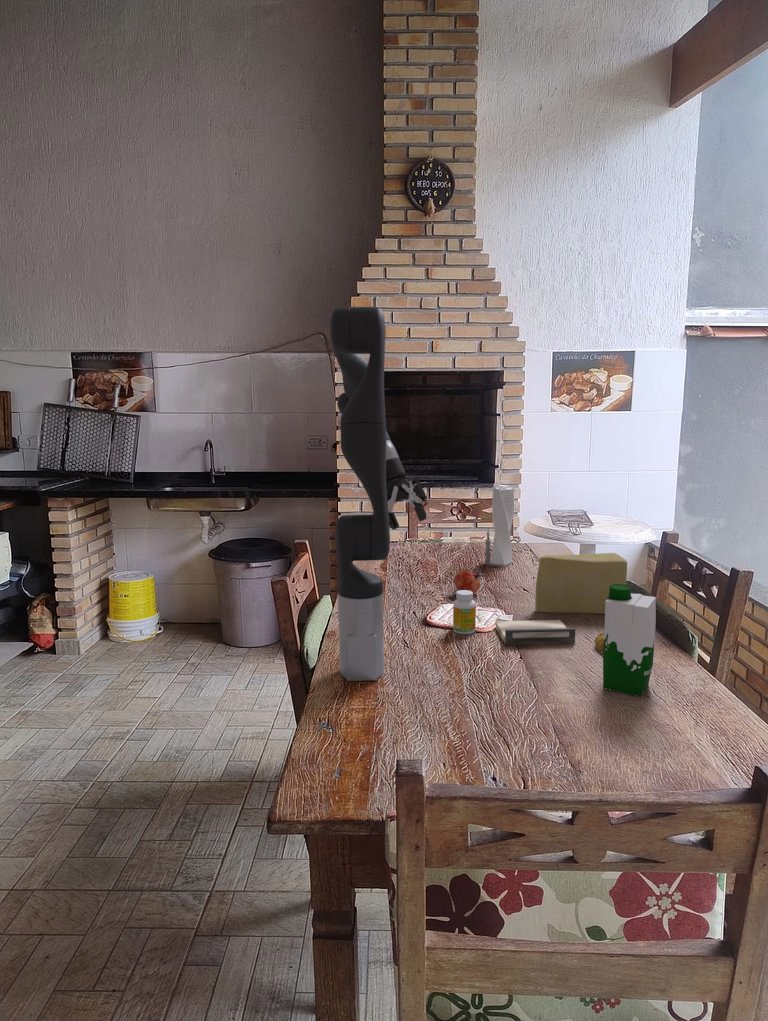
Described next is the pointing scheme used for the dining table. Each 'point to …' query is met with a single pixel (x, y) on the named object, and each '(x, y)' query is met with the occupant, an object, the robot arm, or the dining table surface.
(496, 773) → the dining table surface
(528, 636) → the shelf board
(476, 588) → the pomegranate
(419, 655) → the dining table surface
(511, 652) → the dining table surface
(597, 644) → the pastry
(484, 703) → the dining table surface
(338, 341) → the robot arm
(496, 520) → the skyscraper
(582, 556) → the cheese
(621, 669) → the milk carton
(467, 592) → the supplement bottle
